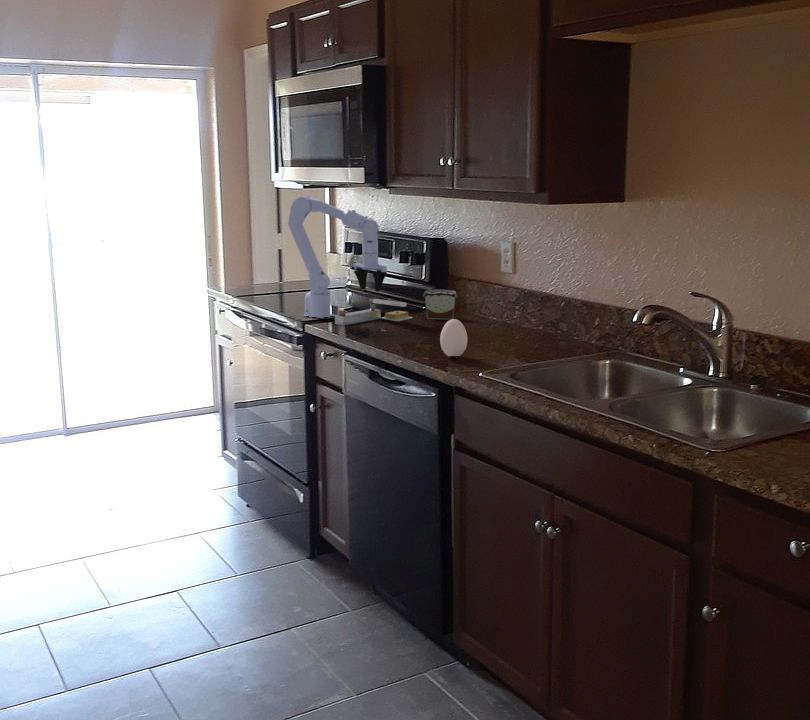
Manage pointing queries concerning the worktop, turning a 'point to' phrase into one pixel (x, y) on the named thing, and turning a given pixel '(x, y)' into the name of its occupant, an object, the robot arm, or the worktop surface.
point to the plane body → (357, 316)
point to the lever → (387, 302)
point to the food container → (440, 304)
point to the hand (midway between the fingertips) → (370, 290)
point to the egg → (453, 338)
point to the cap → (396, 315)
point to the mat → (398, 319)
